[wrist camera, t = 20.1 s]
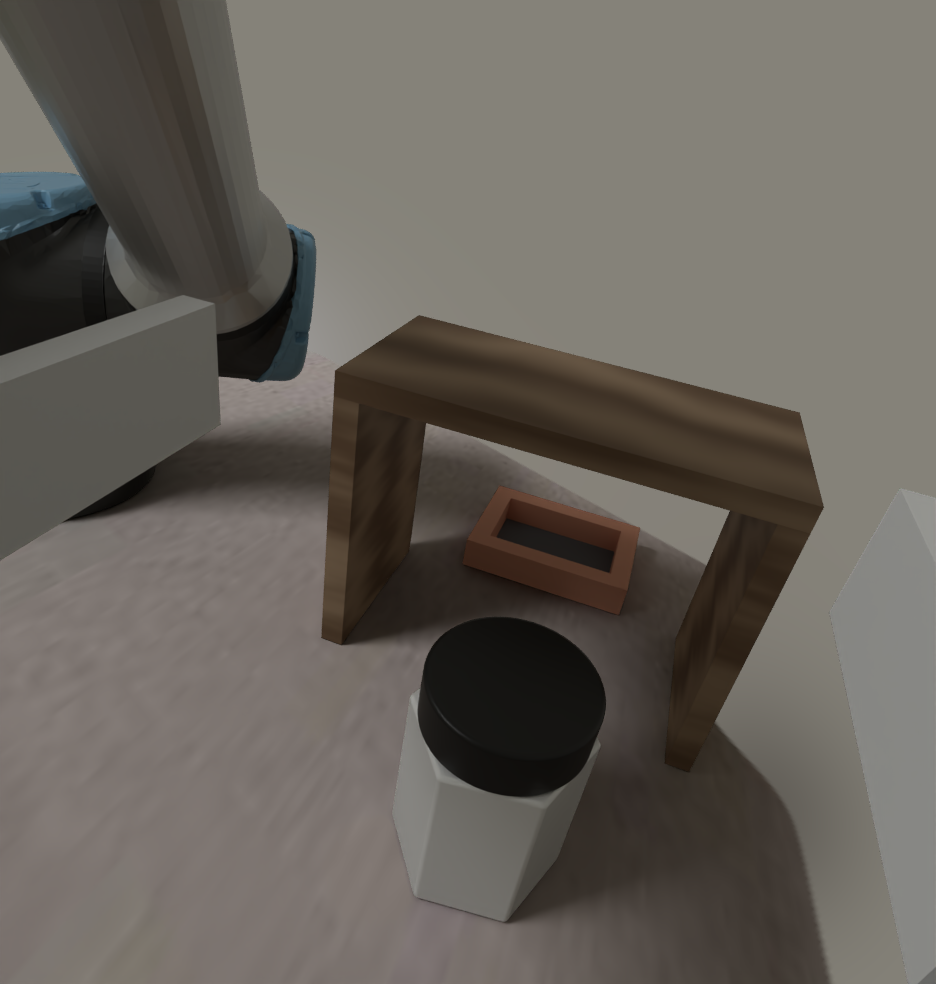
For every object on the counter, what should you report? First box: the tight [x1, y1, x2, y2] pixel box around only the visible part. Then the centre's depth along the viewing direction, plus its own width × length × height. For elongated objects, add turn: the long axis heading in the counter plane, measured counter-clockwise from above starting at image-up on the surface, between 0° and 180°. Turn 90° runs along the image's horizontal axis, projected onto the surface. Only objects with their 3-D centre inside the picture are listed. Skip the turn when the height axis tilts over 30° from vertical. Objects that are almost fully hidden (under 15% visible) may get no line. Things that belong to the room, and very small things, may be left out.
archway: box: [321, 315, 824, 772], centre depth 44 cm, size 12×25×20 cm, turn 71°
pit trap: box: [463, 486, 640, 615], centre depth 58 cm, size 10×13×2 cm
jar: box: [392, 617, 606, 922], centre depth 33 cm, size 9×8×12 cm
